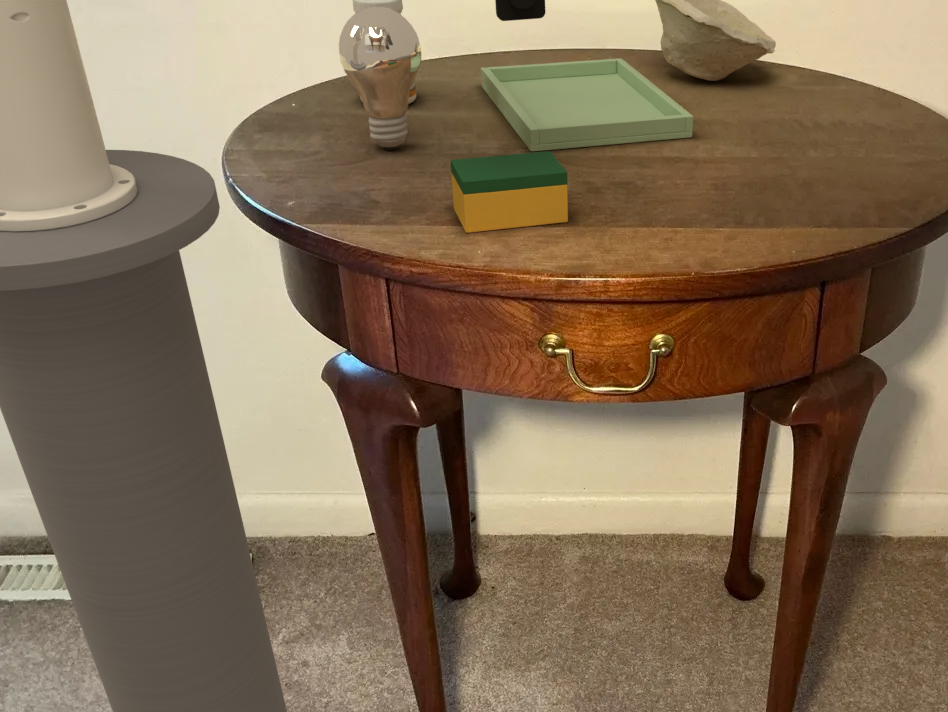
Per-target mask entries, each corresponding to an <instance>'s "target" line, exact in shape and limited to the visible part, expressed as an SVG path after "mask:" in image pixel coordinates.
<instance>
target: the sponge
mask: <svg viewBox="0 0 948 712" xmlns="http://www.w3.org/2000/svg"><path fill="white" fill-rule="evenodd" d="M449 162H450V172H451V173H450V174H451V175H450V177H451V190H452V202H453V203H452V204H453V210H454V212H455V214H456V216H457V219H458V220H459V222H460V224H461V226H462V228H463V229H464V232H465V233H466V234H467V233H469V234H470V233H478V232H479V233H480V232H489V231H496V230H505V229H507V230H508V229H516V228H524V227H526V228H527V227H533V226H542V225H553V224H561V223H562V224H563V223H568V222H569V205H568V204H569V203H568V202H569V201H568V200H569V197H568V193H569V192H568V186H569V185H568V171H567V169H565V167H564V166H563V165H562V163H561V162H560V160H558V158H557V157H556V156H555V154H554V153H553V152H552V150H544V151H533V152H523V153H514V154H501V155H491V156H480V157H467V158H457V159H450V161H449Z"/></svg>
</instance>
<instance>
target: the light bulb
mask: <svg viewBox="0 0 948 712" xmlns="http://www.w3.org/2000/svg"><path fill="white" fill-rule="evenodd" d="M338 57H339V61H340V64H341V66H342V69H343V71H344V73H345V75H346V77H348V79H349V80H350V82H351V83H352V84H353V86H354V87H355V89H356V90H357V91H358V93H360V94H359V96H360V95H361V98H362V101H361V103H362V105H363V109H364V111H365V112H366V114H367V115H368V116H369V118H368V124H369V126H368V129H369V131H370V133H369V136H370V137H369V138H371V139H372V140H373V141H374V142H375V143H376V144H377V145H379V146H380V147H381V148H382V149H383V150H385V151H395V150H397V149H398V147H399V146H401V144H402V143H403V142H404V141H405V140H406V139H407V134H408V129H407V127H408V123H407V122H406V121H407V116H406V112H407V110H408V107H409V104H408V97H409V92H410V88H411V86H412V84H413V82H414V80H415V81H416V78H417V76H418V73H419V71H420V68H421V64H422V63H421V62H422V45H421V41H420V39H419V36H418V33H417V32H416V30H415V28H414V26H413V24H411V23H410V22H409V20H408V19H407V18H406V17H404V16H403V15H402V14H401V15H400V14H399V13H397V12H395V11H393V10H392V9H389V8H385V7H369V8H365V9H362V10H360V11H359V12H357V13H354V14H353V15H352V16H351V17H350V18H349V19H348V20H347V21H346V22H345V24H344V25H343V28H342V29H341V33H340V35H339V40H338Z"/></svg>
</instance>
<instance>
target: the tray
mask: <svg viewBox="0 0 948 712" xmlns="http://www.w3.org/2000/svg"><path fill="white" fill-rule="evenodd" d="M480 81H481V89H483V91H485V93H486V94H487V96H488V97H489V99H491V101H492V102H493V103H494V105H495V106H496V108H497V109H498V110H499V112H501V114H502V115H503V117H504V118H505V120H506V121H507V122H508V124H509V125H510V126H511V127H512V129H513V130H514V131H515V133H516V134H517V135H518V137H519V138H520V139H521V141H522V142H523V143H524V144H525V146H526V147H527V148H528V150H529V151H530V153H534V152H545V151H556V150H565V149H566V150H567V149H576V148H577V149H578V148H587V147H589V148H590V147H599V146H610V145H611V146H612V145H620V144H621V145H622V144H632V143H633V144H634V143H643V142H645V143H646V142H655V141H656V142H657V141H666V140H678V139H688V138H689V139H690V138H693V130H694V115H693V114H692V113H690V112H689V111H687V110H686V109H685V108H684V107H683V106H681V104H679V103H677V101H675V100H674V99H673V98H671V97H670V96H669V95H668V94H666V93H665V92H664V91H663V90H661V89H660V88H659V87H658V86H657V85H655V83H653V82H652V81H651V80H649V79H648V78H647V77H646V76H644V75H643V74H641V73H640V72H639V71H638V70H637V69H635V68H634V67H633V66H632V65H631V64H629V62H627V61H625V59H623V58H622V57H621V58H620V57H619V58H607V59H605V58H604V59H591V60H590V59H589V60H576V61H563V62H561V61H560V62H546V63H545V62H544V63H533V64H532V63H531V64H517V65H503V66H502V65H501V66H500V65H499V66H489V67H488V66H485V67H480Z"/></svg>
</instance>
